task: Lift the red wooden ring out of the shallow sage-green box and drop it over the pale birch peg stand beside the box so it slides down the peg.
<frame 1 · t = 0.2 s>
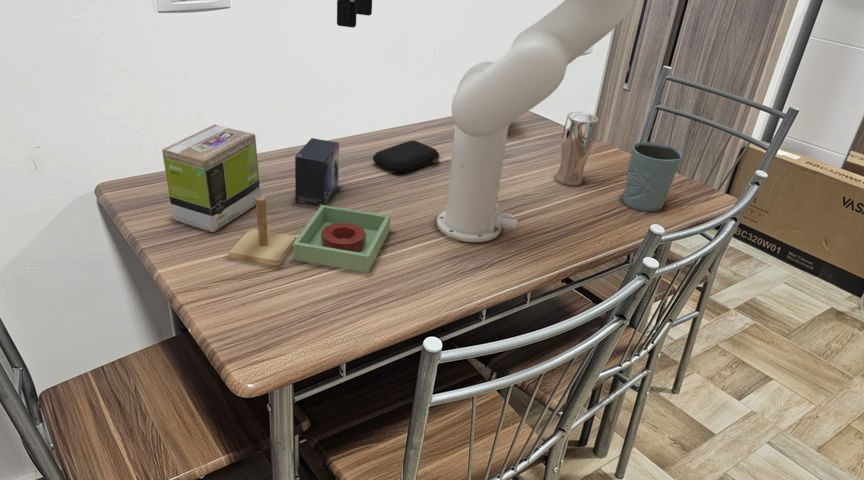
hand: (354, 20, 118), 36 cm above the table, tool pointing down, fingers open, 9 cm apart
carrying case: (407, 164, 158), on the table
peg stand: (263, 251, 122), on the table
bin: (343, 246, 125), on the table
tea box: (218, 212, 133), on the table
small box: (317, 197, 142), on the table
ring: (343, 244, 125), resting on bin
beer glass: (569, 181, 156), on the table
grey-green embossed cup: (642, 203, 149), on the table
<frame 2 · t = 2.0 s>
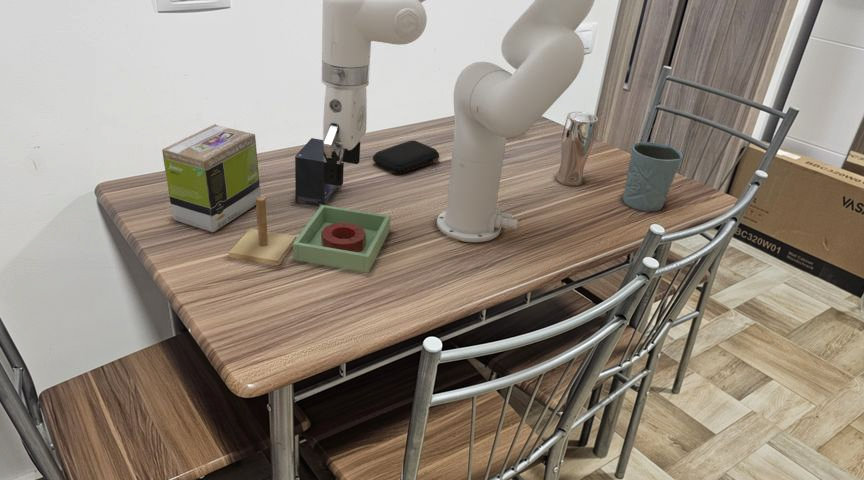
hand: (342, 173, 117), 14 cm above the table, tool pointing down, fingers open, 9 cm apart
nothing on the table moved.
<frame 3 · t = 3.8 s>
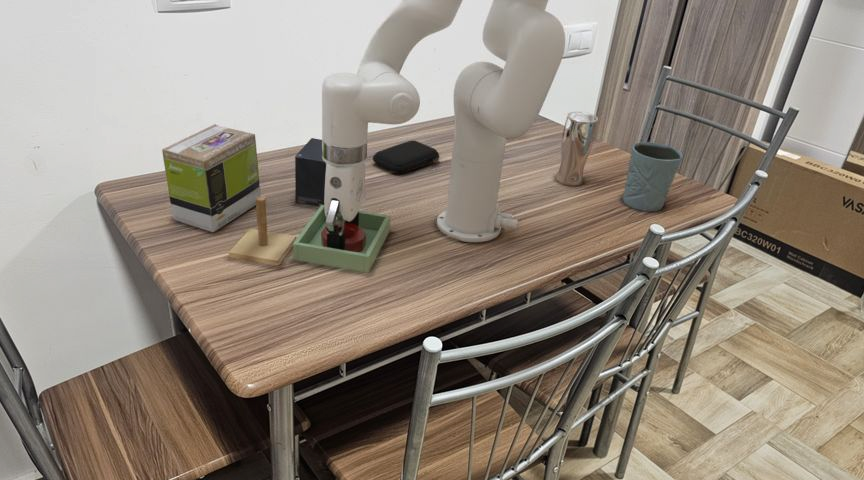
hand: (343, 240, 124), 1 cm above the table, tool pointing down, fingers closed on ring, 8 cm apart
ring: (343, 244, 125), point 1 cm above the table, touching bin, gripper
everything else where it was.
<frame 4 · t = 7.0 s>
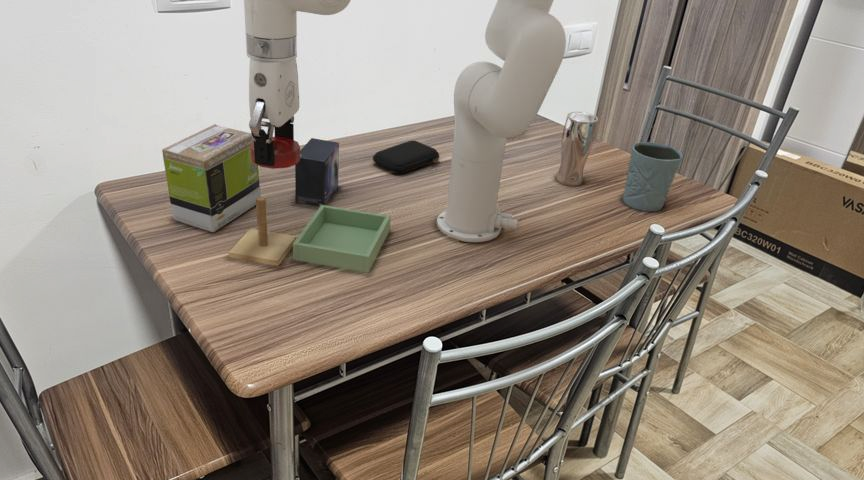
hand: (274, 154, 112), 18 cm above the table, tool pointing down, fingers closed on ring, 7 cm apart
ring: (275, 159, 113), point 18 cm above the table, touching gripper
everything else where it was.
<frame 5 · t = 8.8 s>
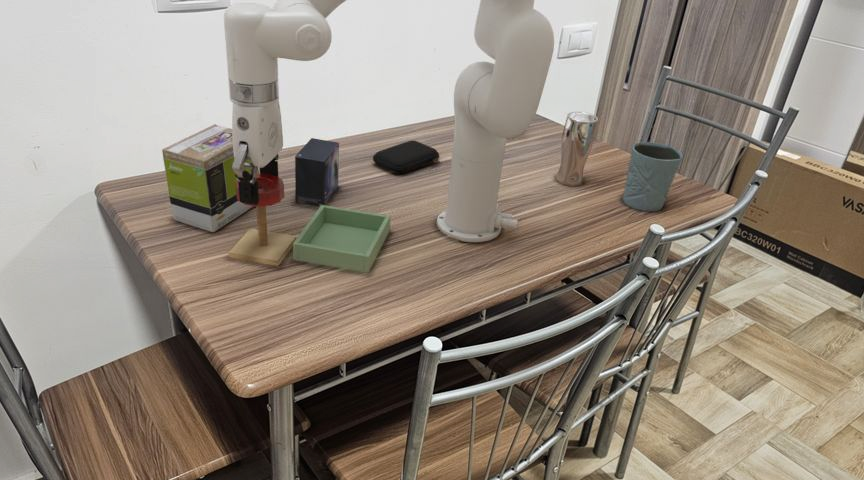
hand: (259, 191, 116), 12 cm above the table, tool pointing down, fingers closed on ring, 7 cm apart
ring: (260, 196, 116), point 11 cm above the table, touching gripper
everything else where it was.
when the fingers open (8 cm above the table, at t = 10.4 s): ring drops 6 cm, resting on peg stand.
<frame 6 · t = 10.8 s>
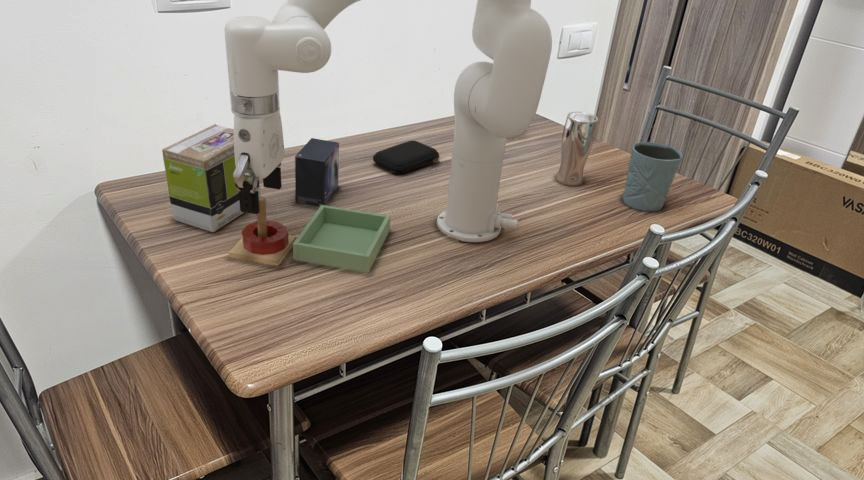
hand: (261, 199, 116), 10 cm above the table, tool pointing down, fingers open, 9 cm apart
ring: (265, 243, 121), point 1 cm above the table, touching peg stand
everything else where it was.
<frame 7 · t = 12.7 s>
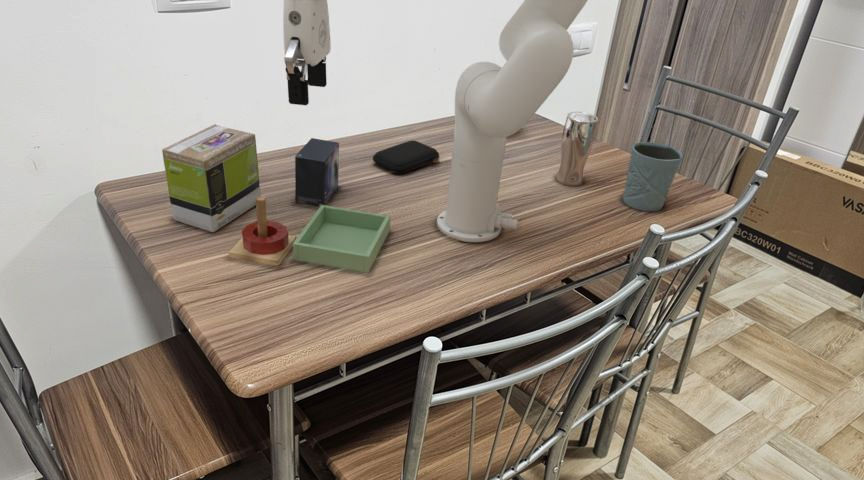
hand: (308, 94, 114), 26 cm above the table, tool pointing down, fingers open, 9 cm apart
nothing on the table moved.
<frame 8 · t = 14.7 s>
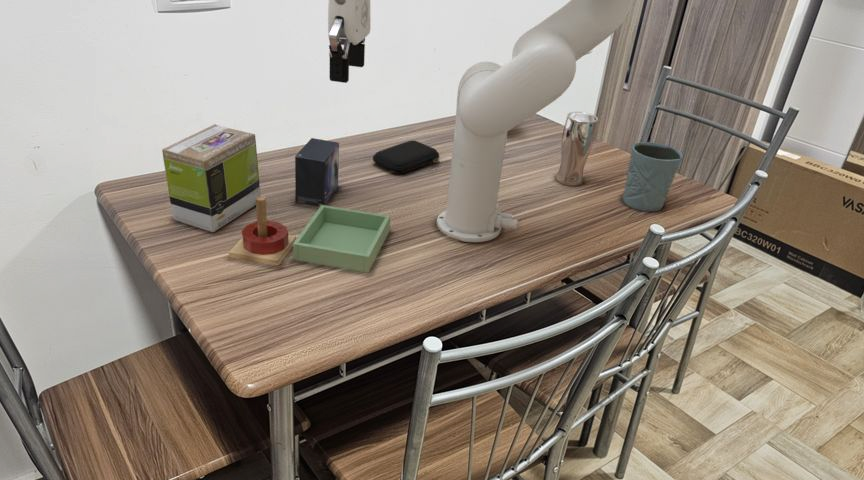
hand: (347, 73, 119), 28 cm above the table, tool pointing down, fingers open, 9 cm apart
nothing on the table moved.
at the end: ring touching peg stand; ring 0.5 cm off-centre on the peg stand, point 1.5 cm above the peg stand's base; the gripper is holding nothing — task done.
